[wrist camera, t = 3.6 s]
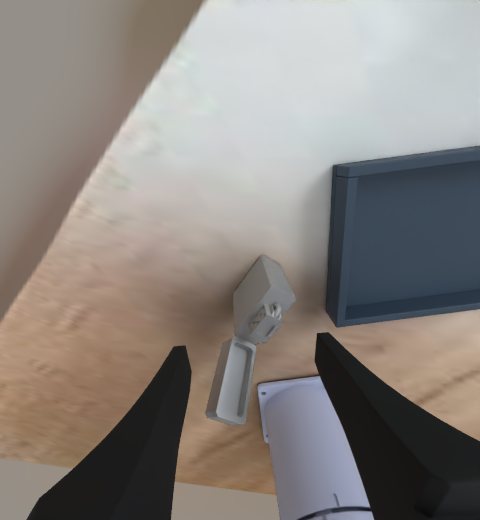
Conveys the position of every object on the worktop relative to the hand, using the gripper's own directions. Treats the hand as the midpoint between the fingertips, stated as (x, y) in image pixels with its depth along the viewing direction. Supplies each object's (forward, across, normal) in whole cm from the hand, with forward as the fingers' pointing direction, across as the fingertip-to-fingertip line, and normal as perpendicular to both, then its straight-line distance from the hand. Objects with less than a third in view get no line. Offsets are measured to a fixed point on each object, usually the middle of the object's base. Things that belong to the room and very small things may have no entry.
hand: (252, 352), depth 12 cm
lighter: (+6, 0, 0) cm, 6 cm away
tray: (+6, -15, -4) cm, 16 cm away
